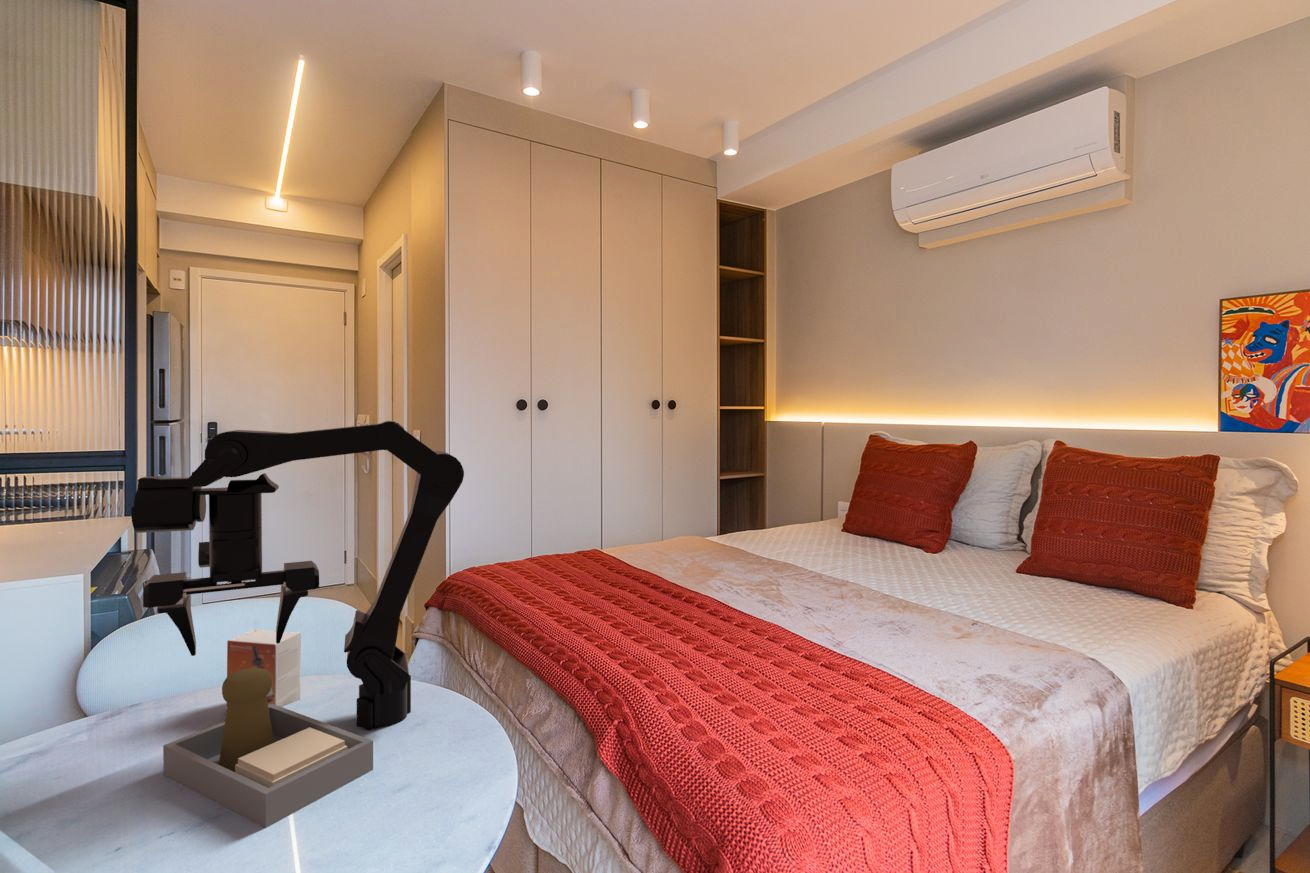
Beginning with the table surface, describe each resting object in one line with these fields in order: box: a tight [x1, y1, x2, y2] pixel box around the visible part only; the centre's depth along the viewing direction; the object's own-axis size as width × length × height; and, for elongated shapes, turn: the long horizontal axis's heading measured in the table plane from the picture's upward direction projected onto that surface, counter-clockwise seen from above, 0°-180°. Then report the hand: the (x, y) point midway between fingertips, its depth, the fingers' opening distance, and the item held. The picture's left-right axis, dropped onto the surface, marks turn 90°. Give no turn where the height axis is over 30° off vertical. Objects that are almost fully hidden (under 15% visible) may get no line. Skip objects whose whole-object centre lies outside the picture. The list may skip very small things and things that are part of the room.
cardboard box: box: [235, 727, 347, 788], centre depth 77 cm, size 9×7×4 cm
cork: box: [219, 668, 274, 772], centre depth 82 cm, size 6×6×11 cm
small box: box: [226, 628, 302, 708], centre depth 99 cm, size 8×6×10 cm
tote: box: [162, 704, 374, 829], centre depth 79 cm, size 13×20×4 cm, turn 61°
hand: (237, 648), depth 87 cm, fingers open, 9 cm apart
